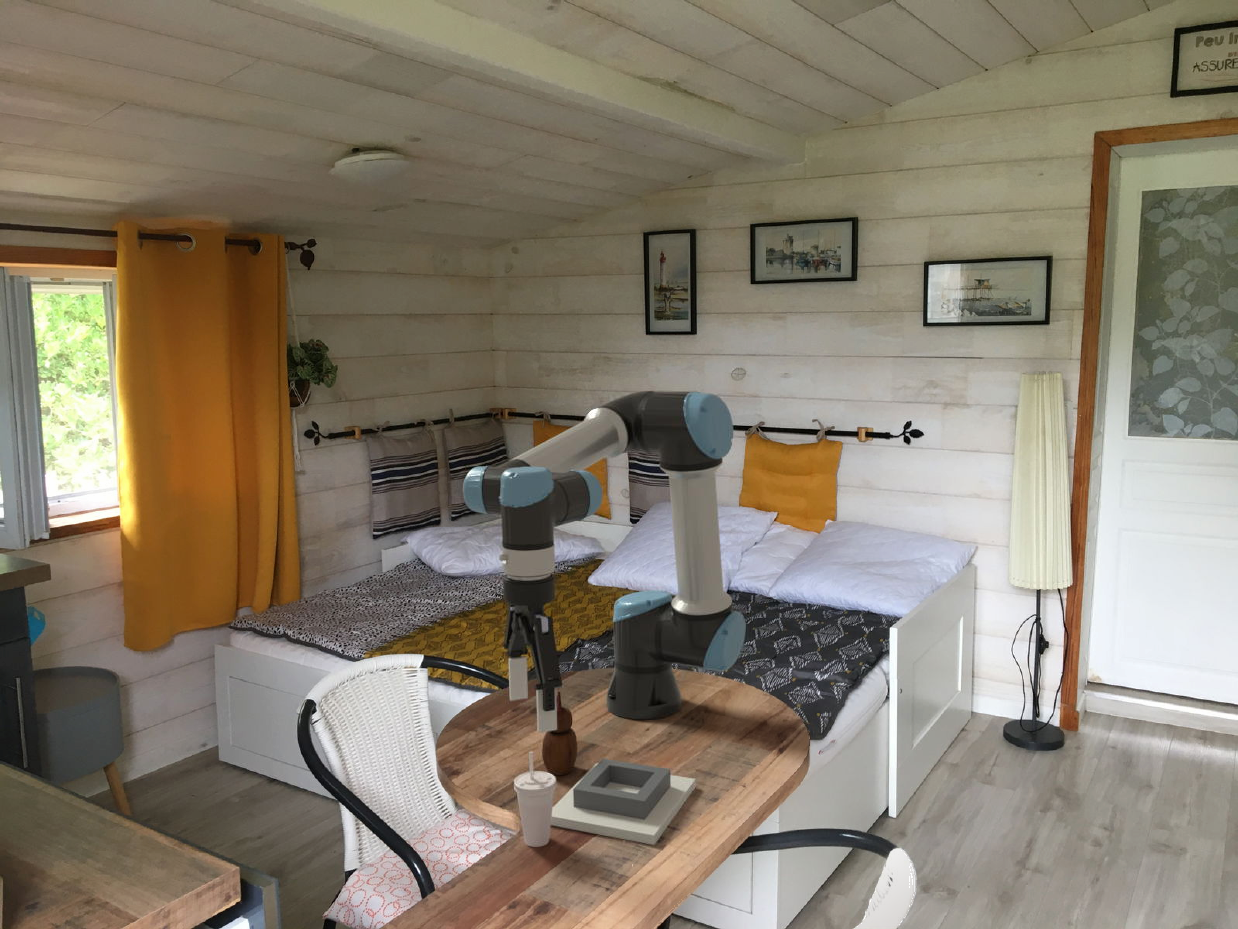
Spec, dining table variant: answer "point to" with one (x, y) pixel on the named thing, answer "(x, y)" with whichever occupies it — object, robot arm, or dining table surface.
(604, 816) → the socket board
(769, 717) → the dining table surface
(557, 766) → the wooden figurine
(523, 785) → the smoothie
